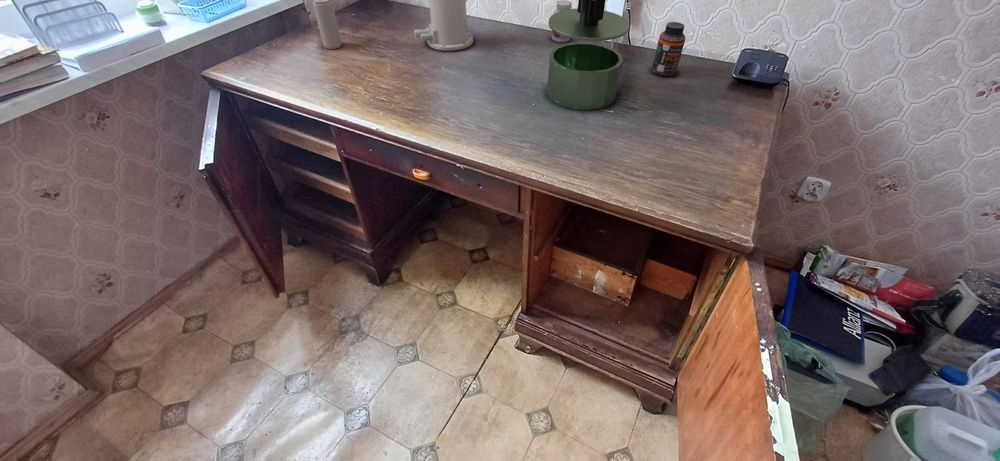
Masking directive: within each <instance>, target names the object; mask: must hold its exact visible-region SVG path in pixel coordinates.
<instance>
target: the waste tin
mask: <svg viewBox="0 0 1000 461" xmlns="http://www.w3.org/2000/svg"><path fill="white" fill-rule="evenodd" d="M548 59H549V60H548V75H547V86H546V87H547V88H546V89H547V91H546V94H547V96H548V98H549V99H550V100H551V101H552V102H553V103H556V104H557V105H559V106H560V107H564V108H567V109H572V110H582V111H591V110H599V109H602V108H603V109H604V108H606V107H608V106H610V105H611V104H613V103H614V102H615V100H616V97H617V96H618V90H619V84H620V79H621V75H622V74H621V73H622V68H623V62H624V60H623V56H622V54H621V53H620V52H618V50H616V49H614V48H612V47H610V46H608V45H607V46H606V45H603V44H599V43H594V42H571V43H565V44H561V45H559V46H556V47H555V48H553V49H552V50H551V51H550V52H549V58H548Z"/></svg>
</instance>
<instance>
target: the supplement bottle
mask: <svg viewBox="0 0 1000 461" xmlns="http://www.w3.org/2000/svg"><path fill="white" fill-rule="evenodd" d="M684 31H685V24H684V23H682V22H678V21H669V22H667V23H666V25H665V30H663V31H662V32H661V33H660V34H659V37H658V41H657V45H656V49H655V53H654V57H653V60H652V64H651V70H652V72H653V73H654V74H656V75H658V76H662V77H671V76H674V75H675V74H676V73H677V70H678V68H679V64H680V61H681V56H682V54H683V50H684V46H685V42H686V35H685V34H684Z"/></svg>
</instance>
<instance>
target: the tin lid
mask: <svg viewBox="0 0 1000 461" xmlns="http://www.w3.org/2000/svg"><path fill="white" fill-rule="evenodd" d="M589 3H590V0H582V2H581V11H580V13H579V12H578V11H577V10H578V7H577V8H571V9H568V10H563V11H560V12H557V13H555V14H552V15H550V17H549V18H548V27H549V28H550V30H551V31H552V30H553V31H554V32H556V33H558V34H560V35H562V36H565V37H568V38H570V39H572V40H577V41H585V42H604V41H612V40H617V39H619V38H621V37H624V36H625V35H627V33H628V32H629V30H630V23H629V21H628V19H626V17H624V16H622V15H620V14H618V13H615V12H612V11H609V10H604V14H603V19H602V20H598V21H588V20H587V18H588V10H589Z"/></svg>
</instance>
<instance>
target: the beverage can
mask: <svg viewBox="0 0 1000 461" xmlns="http://www.w3.org/2000/svg"><path fill="white" fill-rule="evenodd" d="M312 6H313V10H314V14H315V17H316V18H315V19H316V22H317V25H318V29H319V33H320V37H321V40H322V44H323V46H324V48H326V49H327V50H336V49H339V48H341V46H342V44H343V43H342V38H341V34H340V33H341V32H340V28H339V24H338V21H337V17H336V12H335V6H334V4H333V0H312Z"/></svg>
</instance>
